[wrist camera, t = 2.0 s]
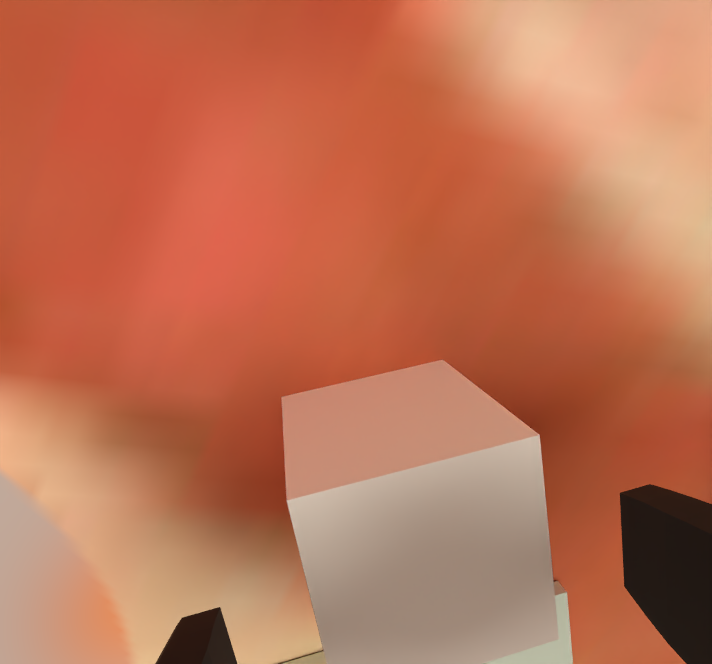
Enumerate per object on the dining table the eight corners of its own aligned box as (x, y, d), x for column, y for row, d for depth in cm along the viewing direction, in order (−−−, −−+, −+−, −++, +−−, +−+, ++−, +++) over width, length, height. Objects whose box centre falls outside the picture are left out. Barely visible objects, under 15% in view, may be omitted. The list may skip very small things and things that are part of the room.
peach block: (442, 359, 13) (539, 435, 8) (462, 499, 14) (559, 639, 9) (281, 396, 13) (287, 500, 8) (315, 540, 14) (338, 709, 9)
